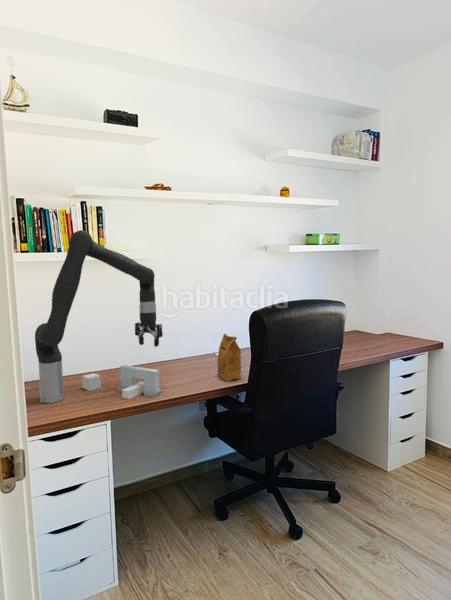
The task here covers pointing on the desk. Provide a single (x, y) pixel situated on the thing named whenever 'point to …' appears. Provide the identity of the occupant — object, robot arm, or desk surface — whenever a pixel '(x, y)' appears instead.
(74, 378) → the desk surface
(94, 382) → the white cube
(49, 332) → the robot arm
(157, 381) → the port plate
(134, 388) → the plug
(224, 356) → the coffee package
